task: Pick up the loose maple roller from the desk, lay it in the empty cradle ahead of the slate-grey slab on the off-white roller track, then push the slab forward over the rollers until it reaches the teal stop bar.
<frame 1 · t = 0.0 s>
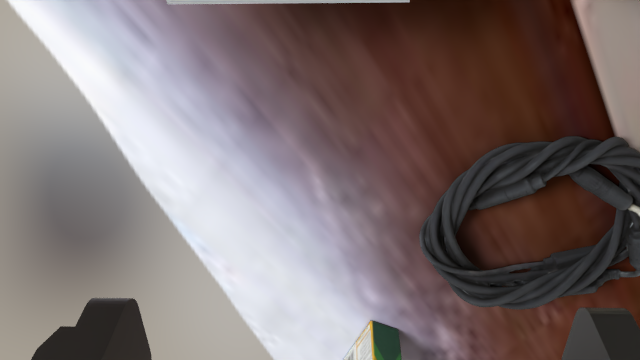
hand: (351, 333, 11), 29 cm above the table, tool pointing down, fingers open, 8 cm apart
cable: (529, 206, 46), on the table
crayon box: (368, 347, 55), on the table
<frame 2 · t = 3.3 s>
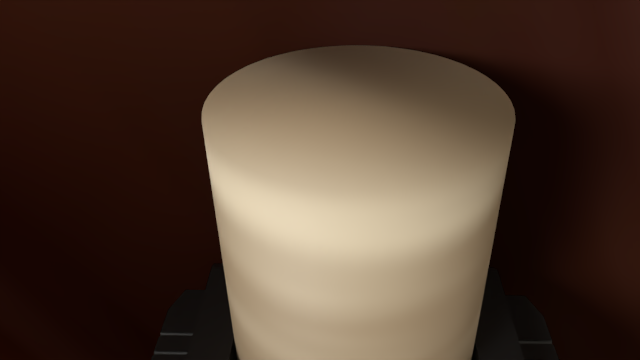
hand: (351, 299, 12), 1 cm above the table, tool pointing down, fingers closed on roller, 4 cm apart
roller: (352, 356, 11), point 2 cm above the table, touching gripper
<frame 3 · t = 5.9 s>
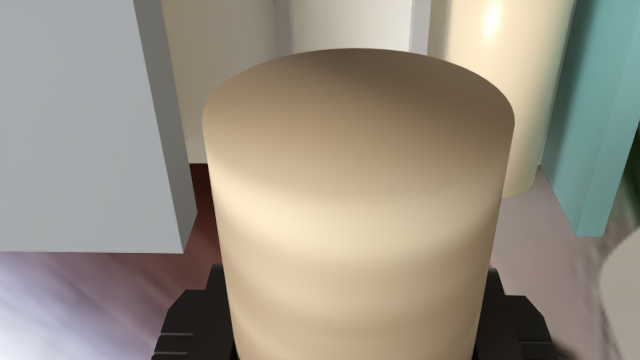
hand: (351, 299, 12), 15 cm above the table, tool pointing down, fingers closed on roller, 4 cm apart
roller: (352, 357, 11), point 17 cm above the table, touching gripper
roller bed: (254, 28, 25), on the table
when the fingers open (3 cm above the table, at t = 8.4 s): roller drops 2 cm, resting on roller bed.
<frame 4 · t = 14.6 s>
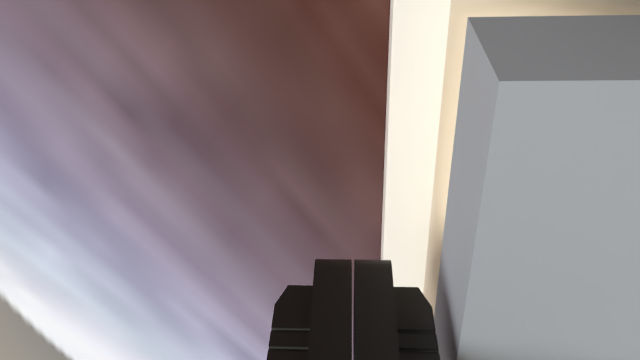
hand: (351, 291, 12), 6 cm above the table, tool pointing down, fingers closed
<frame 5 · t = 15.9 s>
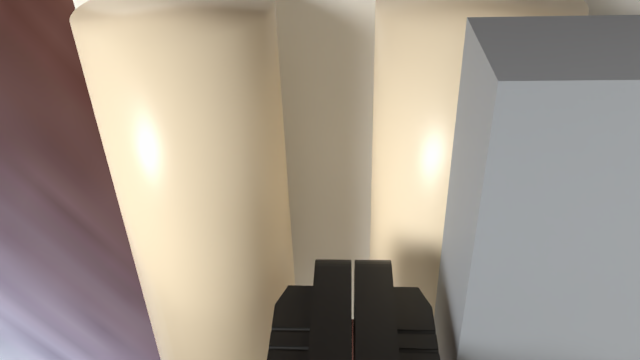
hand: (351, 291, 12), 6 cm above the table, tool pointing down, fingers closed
roller bed: (619, 144, 17), on the table
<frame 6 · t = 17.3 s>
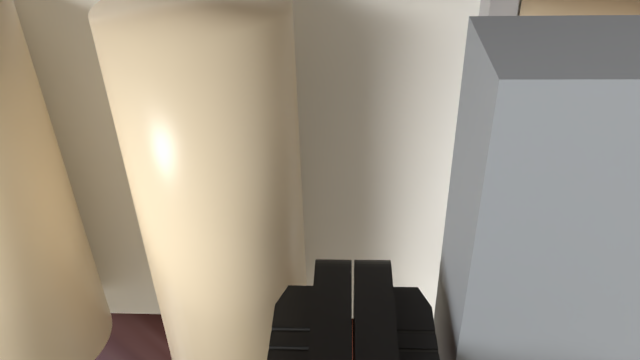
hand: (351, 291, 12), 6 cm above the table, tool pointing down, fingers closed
roller: (576, 207, 14), point 3 cm above the table, tilted 13°, touching roller bed
roller bed: (415, 145, 17), on the table
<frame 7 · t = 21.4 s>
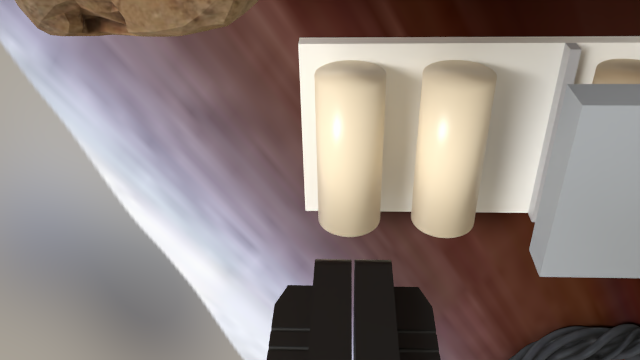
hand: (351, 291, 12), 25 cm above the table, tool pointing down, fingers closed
roller: (612, 151, 35), point 3 cm above the table, tilted 14°, touching roller bed
roller bed: (523, 127, 38), on the table
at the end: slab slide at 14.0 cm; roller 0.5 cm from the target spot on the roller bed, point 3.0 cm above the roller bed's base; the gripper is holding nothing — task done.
